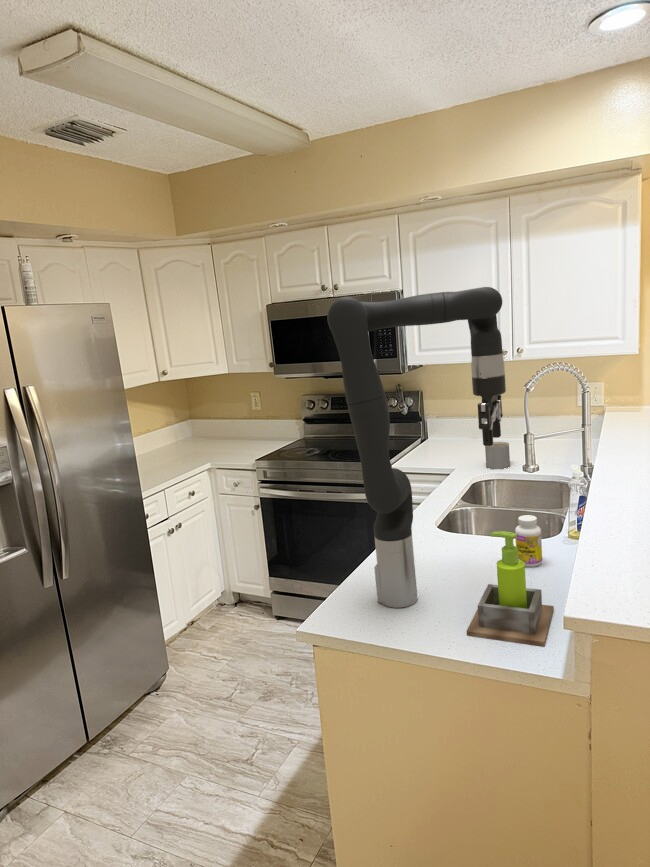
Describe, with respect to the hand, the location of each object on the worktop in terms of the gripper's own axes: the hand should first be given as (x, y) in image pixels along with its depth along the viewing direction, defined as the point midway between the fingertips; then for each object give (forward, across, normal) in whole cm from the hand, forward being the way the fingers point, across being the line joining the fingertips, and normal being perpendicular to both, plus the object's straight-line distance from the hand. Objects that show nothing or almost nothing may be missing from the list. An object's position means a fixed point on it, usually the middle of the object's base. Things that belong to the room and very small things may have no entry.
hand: (492, 441), depth 144 cm
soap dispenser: (+37, +17, +6) cm, 41 cm away
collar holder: (+38, +17, +6) cm, 42 cm away
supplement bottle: (+38, -16, +4) cm, 41 cm away
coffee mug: (+38, -116, -25) cm, 125 cm away
